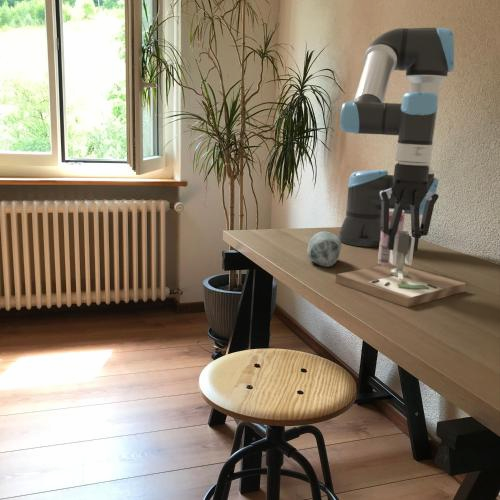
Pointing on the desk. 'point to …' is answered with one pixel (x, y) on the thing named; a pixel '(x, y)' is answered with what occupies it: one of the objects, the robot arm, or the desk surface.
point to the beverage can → (383, 250)
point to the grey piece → (401, 255)
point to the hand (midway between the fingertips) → (400, 263)
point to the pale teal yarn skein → (324, 248)
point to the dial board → (401, 285)
